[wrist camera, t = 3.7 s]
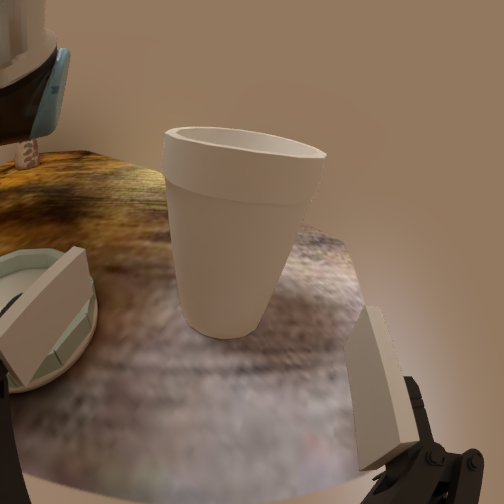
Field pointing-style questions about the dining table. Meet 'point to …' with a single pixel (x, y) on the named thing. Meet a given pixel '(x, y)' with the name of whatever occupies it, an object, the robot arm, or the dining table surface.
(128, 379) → the dining table surface
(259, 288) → the foam cup
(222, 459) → the dining table surface
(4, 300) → the ceramic saucer
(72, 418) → the dining table surface
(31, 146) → the figurine
